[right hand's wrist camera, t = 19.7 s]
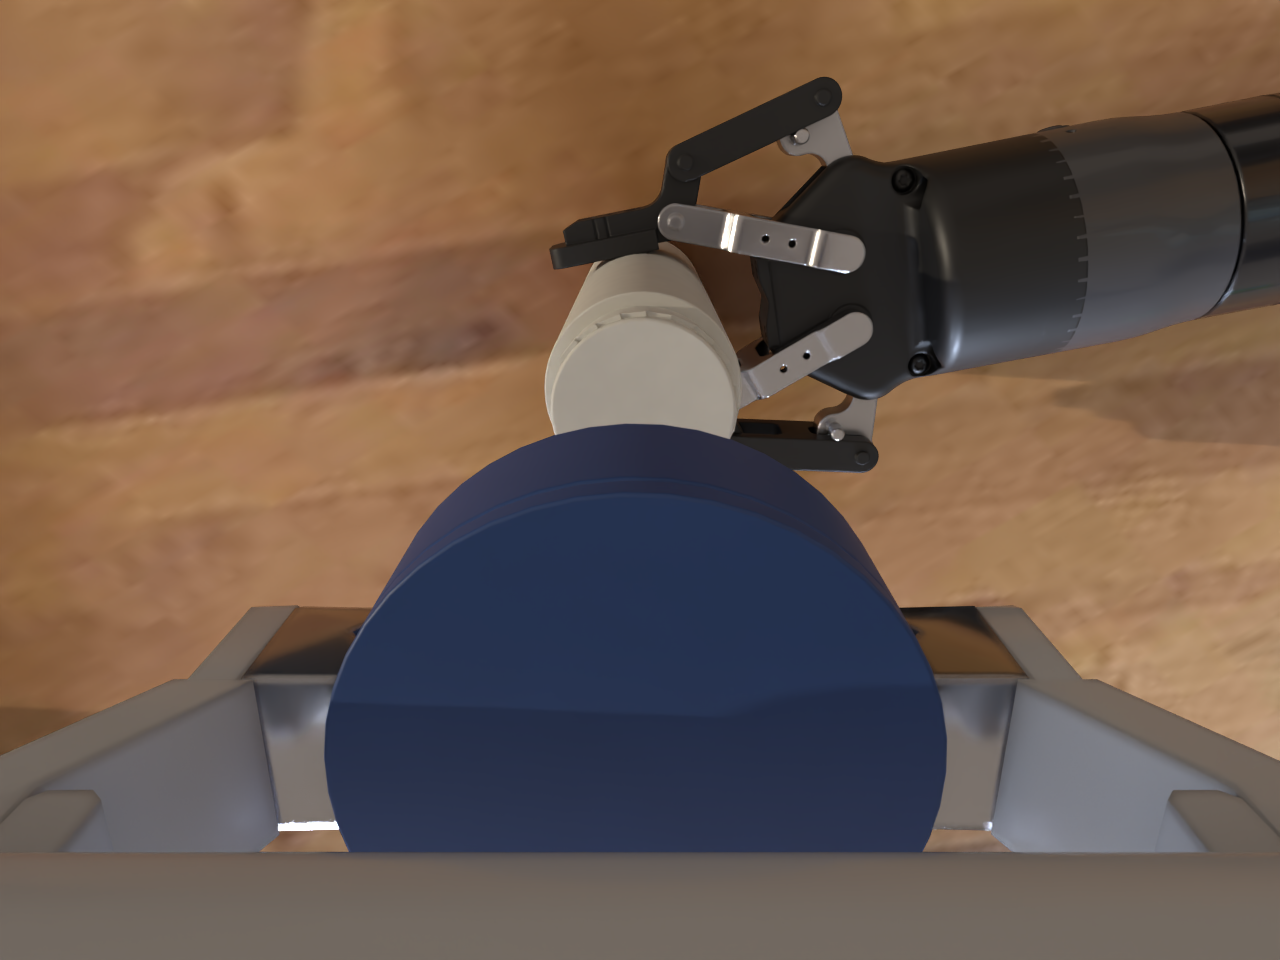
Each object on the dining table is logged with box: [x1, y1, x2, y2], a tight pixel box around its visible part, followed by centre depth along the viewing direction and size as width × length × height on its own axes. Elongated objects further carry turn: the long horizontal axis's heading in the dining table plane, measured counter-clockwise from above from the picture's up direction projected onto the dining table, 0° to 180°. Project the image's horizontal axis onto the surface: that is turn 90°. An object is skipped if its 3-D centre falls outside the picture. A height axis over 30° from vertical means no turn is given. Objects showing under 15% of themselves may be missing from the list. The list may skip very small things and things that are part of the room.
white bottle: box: [545, 241, 742, 439], centre depth 29 cm, size 5×5×18 cm
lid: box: [324, 424, 947, 852], centre depth 9 cm, size 6×6×2 cm
